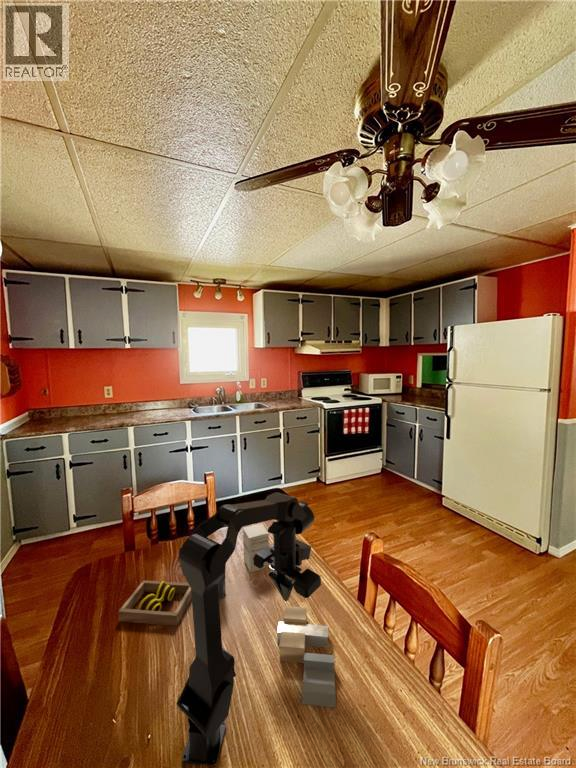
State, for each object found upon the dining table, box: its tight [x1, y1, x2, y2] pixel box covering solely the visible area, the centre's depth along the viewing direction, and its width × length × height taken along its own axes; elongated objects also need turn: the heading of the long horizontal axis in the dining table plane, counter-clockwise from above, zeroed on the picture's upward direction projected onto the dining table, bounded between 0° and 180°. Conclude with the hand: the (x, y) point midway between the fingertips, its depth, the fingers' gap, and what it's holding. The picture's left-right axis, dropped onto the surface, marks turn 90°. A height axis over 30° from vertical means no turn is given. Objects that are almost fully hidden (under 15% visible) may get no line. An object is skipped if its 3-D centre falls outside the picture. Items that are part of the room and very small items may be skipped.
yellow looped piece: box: [138, 580, 175, 611], centre depth 90 cm, size 10×5×5 cm, turn 159°
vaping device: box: [218, 572, 226, 599], centre depth 94 cm, size 3×5×12 cm, turn 78°
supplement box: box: [242, 522, 270, 573], centre depth 108 cm, size 7×7×13 cm
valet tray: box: [118, 579, 192, 627], centre depth 91 cm, size 12×17×3 cm
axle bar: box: [276, 621, 329, 649], centre depth 79 cm, size 13×3×3 cm, turn 83°
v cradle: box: [301, 652, 337, 708], centre depth 68 cm, size 8×7×3 cm
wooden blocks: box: [278, 605, 308, 664], centre depth 79 cm, size 12×6×4 cm, turn 174°
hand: (286, 599), depth 79 cm, fingers closed
